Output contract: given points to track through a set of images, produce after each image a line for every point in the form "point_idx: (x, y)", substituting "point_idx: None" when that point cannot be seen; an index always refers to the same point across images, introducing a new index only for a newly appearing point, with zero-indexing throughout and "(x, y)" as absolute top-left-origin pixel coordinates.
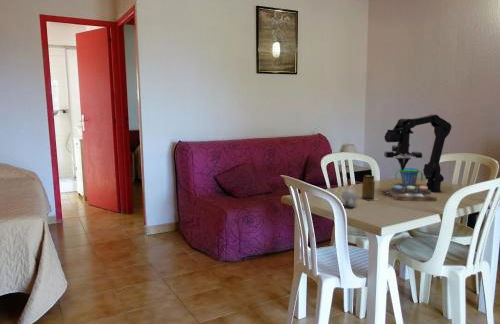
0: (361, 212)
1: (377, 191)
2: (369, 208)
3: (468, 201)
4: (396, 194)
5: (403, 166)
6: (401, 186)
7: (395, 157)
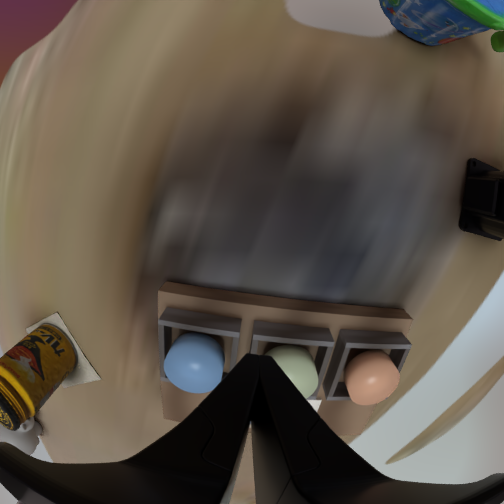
0: (66, 460)
1: (116, 183)
2: (77, 448)
3: (461, 402)
4: (175, 387)
5: (255, 445)
6: (211, 385)
7: (19, 499)
